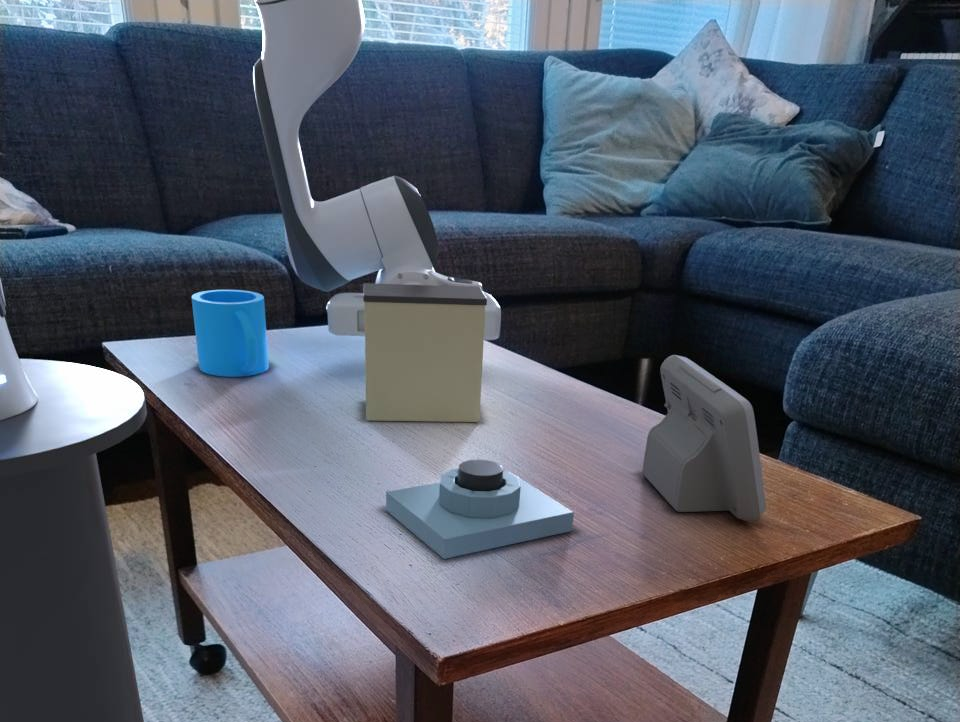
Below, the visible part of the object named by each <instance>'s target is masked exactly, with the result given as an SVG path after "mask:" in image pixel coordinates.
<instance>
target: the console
mask: <svg viewBox="0 0 960 722" xmlns="http://www.w3.org/2000/svg"><path fill="white" fill-rule="evenodd" d="M482 291H483V289H482V290H481V288H480V287H465V286H435V285H404V284H375V283H373V282H371V283H370V282H369V283H367V282H363V283H362V293H363V300H364V312H365V336H364V366H365V367H364V370H365V377H364V378H365V419H366V420H365V421H369V422H370V421H371V422H372V421H373V422H440V423H441V422H445V423H448V422H450V423H480V419H481V416H480V415H481V401H482V400H481V399H482V397H481V396H482V378H483V361H484V359H483V358H484V341H485V340H484V324H485V305H487V299H486V297H485V295H484V294H483V292H484V291H483V292H482Z"/></svg>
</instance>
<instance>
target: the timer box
mask: <svg viewBox="0 0 960 722" xmlns="http://www.w3.org/2000/svg"><path fill="white" fill-rule="evenodd" d="M385 504H386V505H385V511H386V512H387V513H388V514H389V515H391V516H392V517H393V518H394V519H396V520H397V521H398V522H399V523H401V524H402V525H403V526H404V527H405V528H406V529H407V530H408V531H410V532H411V533H412V534H414V535H415V536H416V537H417V538H418V539H419V540H420V541H422V542H423V543H424V544H425V545H426V546H428V547H429V548H430V549H431V550H432V551H434V552H435V553H436V554H437V555H438V556H440V557H441V558H442V559H443V560H447V559H450V558H451V559H452V558H456V557H459V556H460V557H461V556H464V555H469V554H474V553H479V552H482V551H488V550H491V549H497V548H501V547H507V546H510V545H515V544H519V543H524V542H529V541H534V540H538V539H542V538H546V537H552V536H557V535H560V534H565V533H569V532H572V530H573V523H574V513H575V512H574V511H572V510H571V509H569V508H568V507H566V506H564V505H563V504H561V503H560V502H558V501H557V500H556V499H553V498H552V497H550V496H549V495H547V494H545V493H544V492H542V491H541V490H539V489H538V488H537V487H535V486H532V484H530V483H528V482H527V481H525V480H523V479H522V478H520V477H519V476H517V475H515V474H514V473H513V472H511V471H510V470H503V480H502V488H501V489H499V490H493V491H472V490H468V489H464V488H461V487H459V486H458V467H457V468H451V469H450V470H447V471H445V472H444V473H442V474H440V475H439V482H435V483H429V484H422V485H417V486H410V487H405V488H400V489H395V490H394V489H393V490H388V491H386V492H385Z"/></svg>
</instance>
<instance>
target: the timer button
mask: <svg viewBox="0 0 960 722" xmlns="http://www.w3.org/2000/svg"><path fill="white" fill-rule="evenodd" d="M457 468H458V486H459V487H461V488H464V489H468V490H472V491H493V490H499V489H501V488H502V480H503V471H504V468H503V466H502V465H501V464H500V463H497V462H495V461H492V460H487V459H469V460H465V461H463V462H461V463H459V465H458V467H457Z"/></svg>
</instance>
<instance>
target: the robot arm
mask: <svg viewBox="0 0 960 722" xmlns="http://www.w3.org/2000/svg"><path fill="white" fill-rule="evenodd" d="M254 3H255V5H256V8H257V11H258V16H259V19H260V24H261V30H262V48H261V49H262V51H261V56H260V57H259V58H258V59H257V61H256V62H255V63H254V64H253V69H252V70H253V71H252V81H253V82H252V83H253V91H254V95H255V103H256V107H257V110H258V115H259V116H258V117H259V120H260V121H259V122H260V125H261V129H262V134H263V138H264V143H265V147H266V151H267V155H268V159H269V163H270V164H269V165H270V167H271V173H272V176H273V181H274V186H275V189H276V194H277V197H278V202H279V206H280V210H281V215H282V219H283V227H284V240H285V248H286V253H287V255H288V260H289V263H290V265H291V267H292V269H293V271H294V273H295V274H296V276H297V277H298V279H299V281H300V282H301V283H303V284H305V285H307V286H309V287H311V288H314V289H315V290H319V291H322V292H324V293H325V292H326V293H329V292H331V291H334V290H335V289H338V288H340V287H342V286H344V285H346V284H348V283H350V282H352V281H353V280H355V279H358V278H361V277H363V276H366V275H370V274H373V273H375V272H377V275H376V277H375V278H376V279H375V282H374V284H404V285H435V286H465V287H480V288H481V290H482V292H483V294H484V295H485V297H486V299H487V305H485V324H484V341H494V340H497V339H499V338H500V334H501V324H502V323H501V322H502V309H501V306H500V305H499V303H498V301H497V300H496V299H495V298H494V297H493V296H492V294H489V293H488V292H487V291H486V292H485V291H483V284H482V283H481V282H479V281H476V280H470V279H466V278H465V279H464V278H458V277H453V276H447V275H444V274H441V273H438V272H436V269H435V268H434V266H435V264H436V262H437V260H438V256H439V252H440V247H439V241H438V237H437V233H436V229H435V226H434V223H433V221H432V217H431V215H430V213H429V210H428V208H427V206H426V203H425V201H424V200H423V197H422V196H421V194H420V193H419V190H418V188H416V187H415V186H414V185H413V184H412V183H410V182H408V181H407V180H405V178H403V177H400V176H397V175H393V176H389V177H386V178H383V179H381V180H377V181H374V182H371V183H369V184H366V185H364V186H361V187H360V188H358V189H355V190H351V191H349V192H346V193H344V194H340V195H338V196H336V197H332V198H330V199H327V200H324V201H318V200H317V201H316V200H314V199H313V198H312V194H311V190H310V186H309V181H308V176H307V172H306V167H305V163H304V158H303V154H302V153H303V152H302V149H301V144H300V138H299V132H300V126H301V124H302V120H303V118H304V117H305V115H306V113H307V112H308V111H309V109H310V108H311V107H312V105H313V104H315V102H316V101H317V100H318V99H319V98H320V97H321V96H322V95H323V94H324V93H325V92H326V91H327V90H328V89H330V87H331V86H333V84H334V83H336V81H337V80H339V78H341V77H342V75H343V74H344V73H345V72H346V71H347V70H348V68H349V67H350V65H351V64H352V62H353V60H354V59H355V57H356V56H357V53H358V52H359V50H360V47H361V44H362V41H363V38H364V32H365V25H366V18H365V12H364V7H363V6H364V5H363V2H362V0H254ZM1 279H2V278H0V421H1V420H4V419H7V418H10V417H13V416H15V415H18V414H21V413H23V412H25V411H27V410H28V409H30V408H31V407H33V406H34V405H35V404H36V403H37V400H38V397H37V395H36V393H35V391H34V390H33V388H32V386H31V384H30V382H29V380H28V378H27V376H26V374H25V372H24V370H23V367H22V365H21V363H20V360H19V359H20V358H19V356H18V355H19V354H18V353H17V350H16V348H15V345H14V342H13V340H12V335H11V334H10V330H9V327H8V323H7V320H6V317H5V316H6V314H7V311H6V307H7V305H6V299H5V294H4V288H3V283H2V280H1ZM325 310H326V313H327V328H328V333H330V334H332V335H335V336H339V337H341V336H343V337H346V336H347V337H365V312H364V300H363V292H340V293H336V294H334V295H333V296H332V297H331V298H330V299H329V300H328V302H327V304H326V306H325Z"/></svg>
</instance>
